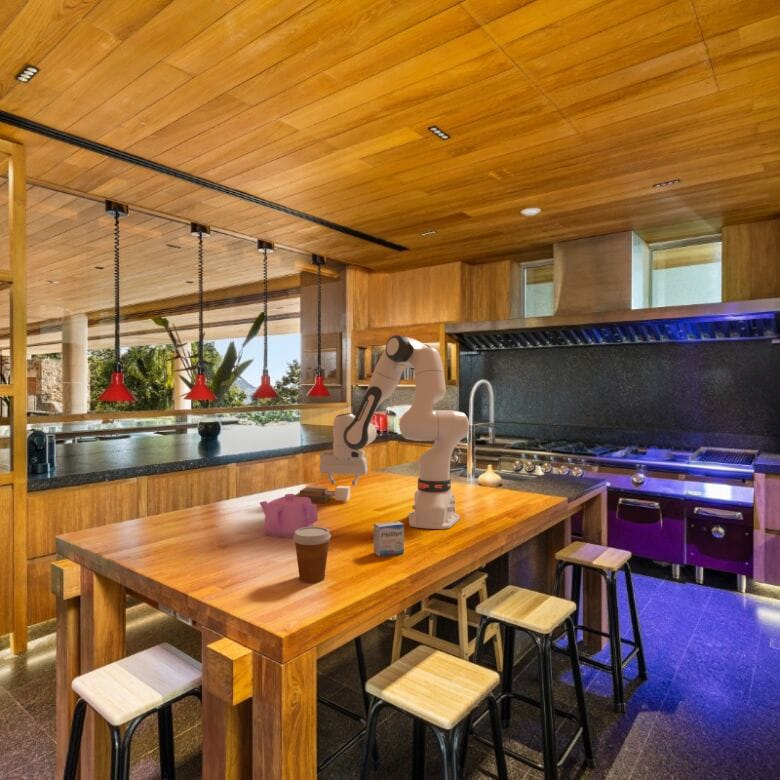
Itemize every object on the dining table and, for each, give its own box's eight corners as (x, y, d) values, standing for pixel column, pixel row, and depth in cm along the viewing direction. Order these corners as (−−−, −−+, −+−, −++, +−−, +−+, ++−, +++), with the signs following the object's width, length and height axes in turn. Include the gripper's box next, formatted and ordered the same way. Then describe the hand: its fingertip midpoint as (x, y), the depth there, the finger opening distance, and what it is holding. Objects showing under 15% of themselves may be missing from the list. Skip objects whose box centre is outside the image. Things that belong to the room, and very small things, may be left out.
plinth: (324, 503, 215) (324, 493, 215) (291, 501, 218) (291, 491, 218) (335, 495, 228) (335, 486, 228) (304, 494, 231) (304, 485, 231)
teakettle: (270, 542, 165) (270, 502, 164) (258, 528, 180) (258, 491, 180) (322, 535, 172) (322, 497, 172) (307, 522, 187) (307, 487, 187)
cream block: (346, 500, 220) (346, 488, 219) (335, 500, 221) (335, 488, 221) (350, 498, 224) (350, 486, 224) (338, 497, 226) (338, 485, 225)
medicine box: (379, 557, 151) (379, 527, 150) (373, 552, 155) (373, 523, 154) (404, 553, 154) (404, 524, 153) (398, 549, 158) (398, 520, 158)
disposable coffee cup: (285, 582, 132) (285, 534, 132) (305, 569, 141) (305, 524, 141) (319, 587, 129) (319, 538, 128) (337, 574, 137) (337, 528, 137)
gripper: (317, 451, 222) (317, 484, 223) (364, 454, 217) (364, 487, 218) (322, 449, 228) (322, 481, 229) (368, 451, 224) (368, 484, 224)
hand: (343, 484), depth 223 cm, fingers open, 8 cm apart
